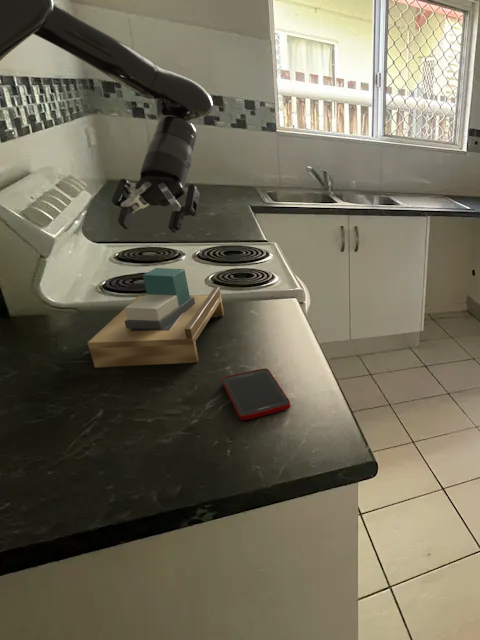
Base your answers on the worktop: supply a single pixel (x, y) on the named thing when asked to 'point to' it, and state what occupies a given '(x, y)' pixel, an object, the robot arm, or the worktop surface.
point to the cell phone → (255, 394)
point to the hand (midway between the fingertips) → (148, 228)
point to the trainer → (160, 299)
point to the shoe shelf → (155, 337)
